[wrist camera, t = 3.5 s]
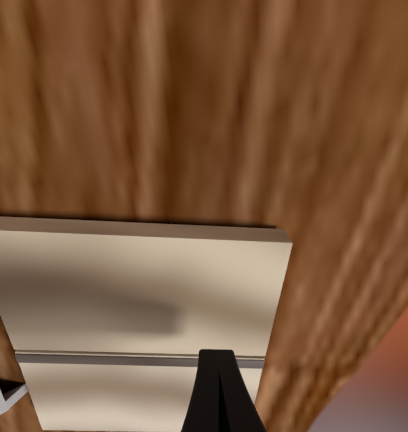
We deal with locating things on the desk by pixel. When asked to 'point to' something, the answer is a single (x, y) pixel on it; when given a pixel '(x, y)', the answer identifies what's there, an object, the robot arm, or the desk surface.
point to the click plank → (139, 286)
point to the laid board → (117, 388)
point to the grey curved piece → (11, 397)
